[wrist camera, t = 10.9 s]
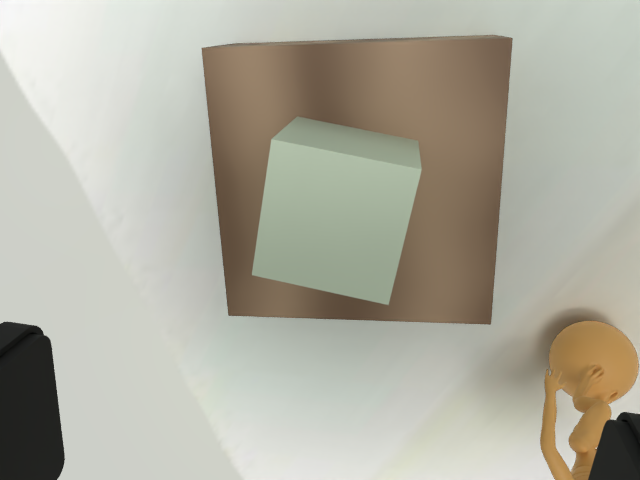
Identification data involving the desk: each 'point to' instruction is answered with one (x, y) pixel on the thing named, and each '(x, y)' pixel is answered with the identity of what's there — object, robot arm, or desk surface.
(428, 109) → the walnut block
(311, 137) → the sage cube
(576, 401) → the figurine
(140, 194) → the desk surface
